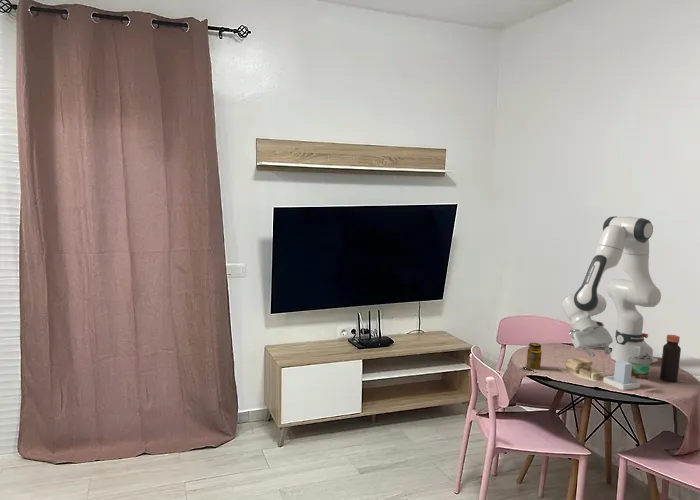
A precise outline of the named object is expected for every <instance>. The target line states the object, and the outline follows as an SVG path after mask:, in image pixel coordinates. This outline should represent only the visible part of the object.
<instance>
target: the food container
mask: <svg viewBox="0 0 700 500" xmlns="http://www.w3.org/2000/svg"><path fill="white" fill-rule="evenodd" d="M628 362H629V363H631V364H632V371H631V378H632V379H633V378H634V379H640V380H642V379H644V380H646V381H647V380H648V378H649V372H650V367H651V364H653V363H652V358H651V356H649V355H647V354H645V356H642V357H640V356H637V357H635V358H632V357H629V358H628Z"/></svg>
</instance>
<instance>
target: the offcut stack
mask: <svg viewBox="0 0 700 500" xmlns="http://www.w3.org/2000/svg"><path fill="white" fill-rule="evenodd" d="M566 360H567V361H566V362H565V365H564V367H566V370H569V371H571V372H573V373H579V371H580V369H581V368H582V369H584V370H587V371H589V370H590V367H591V366H592V365H593V361H592V360H589V359H587V358H584V357H578V358H569V359H566Z"/></svg>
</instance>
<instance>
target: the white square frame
mask: <svg viewBox="0 0 700 500" xmlns="http://www.w3.org/2000/svg"><path fill="white" fill-rule="evenodd" d="M602 381H603V383H604V384H607V385H610V386H612V387H614V388H617V389H620V390H622V391H625V390H631V389H638V388H641V382H640V381H638V380H636V379H635V380H634V379H633V378H631V381H630V384H625V385H623V384H620V383H618V382H615V381H614V375H611V376H609V377H604V380H602Z"/></svg>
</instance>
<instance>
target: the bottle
mask: <svg viewBox="0 0 700 500" xmlns="http://www.w3.org/2000/svg"><path fill="white" fill-rule="evenodd" d="M680 340H681V339H680V336H679V335H676V334H675V335H674V334H667V335H666V343H665V344H664V345H663V346H662V355H661V365H660V371H659V372H660V375H659V378H660V380H661V381H663V382H666V383H676V382H678V378H679V371H680V370H679V368H680V362H681V361H680V360H681V353H682V351H681V350H682V349H681V347H680V345H679V343H680Z"/></svg>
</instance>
